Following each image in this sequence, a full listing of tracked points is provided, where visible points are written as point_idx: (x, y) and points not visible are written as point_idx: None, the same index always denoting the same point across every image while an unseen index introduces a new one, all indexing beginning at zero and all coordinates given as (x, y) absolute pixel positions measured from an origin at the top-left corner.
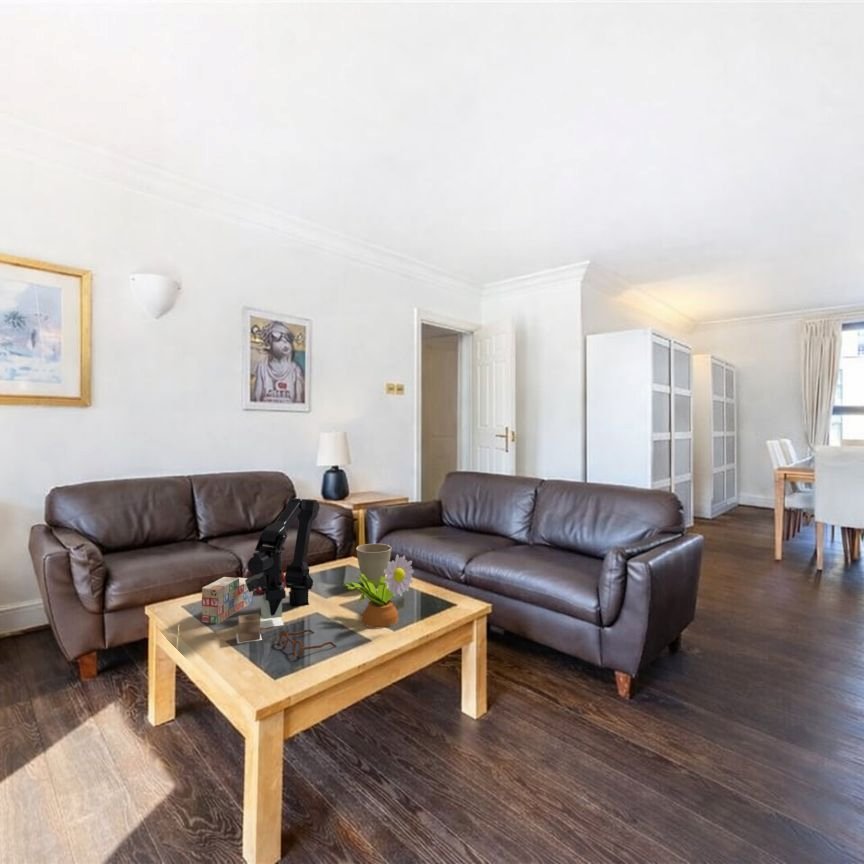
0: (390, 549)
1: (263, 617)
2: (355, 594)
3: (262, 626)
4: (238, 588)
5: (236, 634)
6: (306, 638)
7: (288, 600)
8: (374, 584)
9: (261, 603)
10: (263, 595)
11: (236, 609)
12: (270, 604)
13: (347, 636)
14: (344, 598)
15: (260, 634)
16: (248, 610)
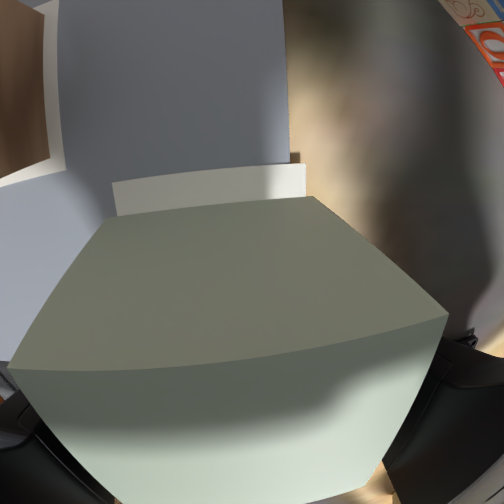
0: None
1: (103, 228)
2: (385, 479)
3: (147, 190)
4: None
5: (50, 4)
6: (7, 395)
7: (470, 345)
8: (396, 498)
9: (330, 246)
10: (413, 355)
11: (497, 51)
12: (11, 409)
13: None
14: (377, 471)
15: (4, 184)
16: (491, 125)
